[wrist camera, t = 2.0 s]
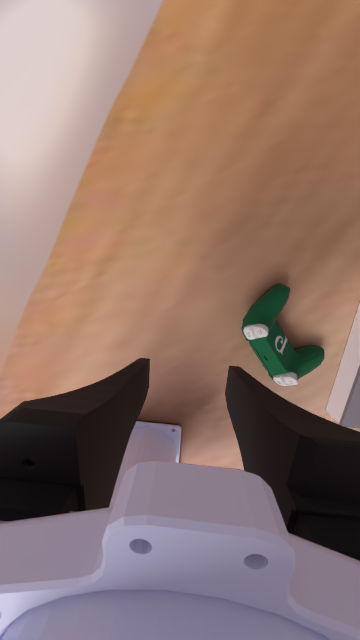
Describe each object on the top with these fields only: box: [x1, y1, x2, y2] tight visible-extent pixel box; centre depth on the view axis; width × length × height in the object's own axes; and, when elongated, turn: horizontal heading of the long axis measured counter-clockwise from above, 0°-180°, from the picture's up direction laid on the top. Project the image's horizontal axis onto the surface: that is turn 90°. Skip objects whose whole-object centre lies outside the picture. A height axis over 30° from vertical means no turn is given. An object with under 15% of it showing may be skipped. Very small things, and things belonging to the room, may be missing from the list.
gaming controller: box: [242, 283, 324, 386], centre depth 18 cm, size 9×4×6 cm
